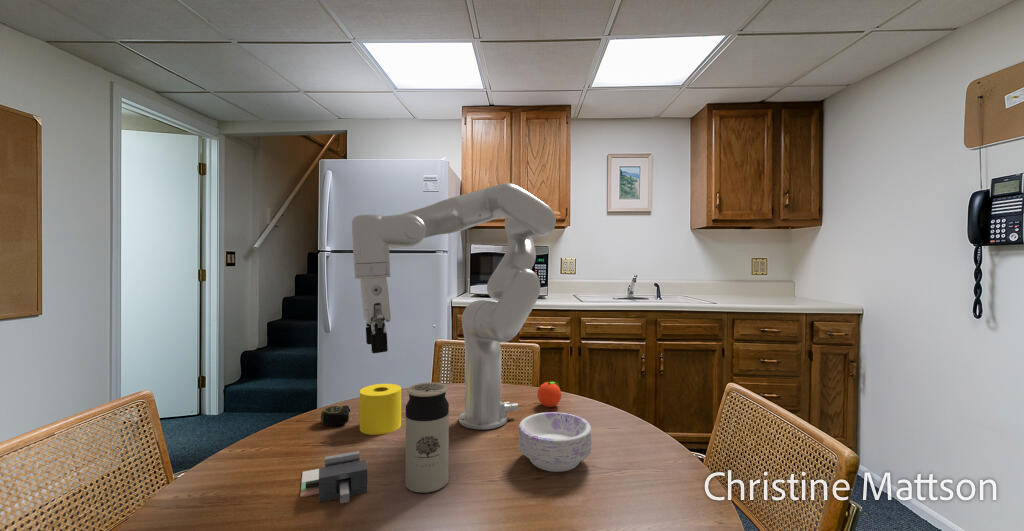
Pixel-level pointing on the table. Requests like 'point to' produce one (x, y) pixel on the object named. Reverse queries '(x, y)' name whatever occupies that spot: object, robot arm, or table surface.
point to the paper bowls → (555, 440)
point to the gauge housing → (342, 471)
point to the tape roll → (380, 409)
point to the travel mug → (427, 437)
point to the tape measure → (335, 415)
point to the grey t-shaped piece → (342, 482)
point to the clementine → (549, 394)
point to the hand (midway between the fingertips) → (376, 347)
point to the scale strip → (309, 476)
